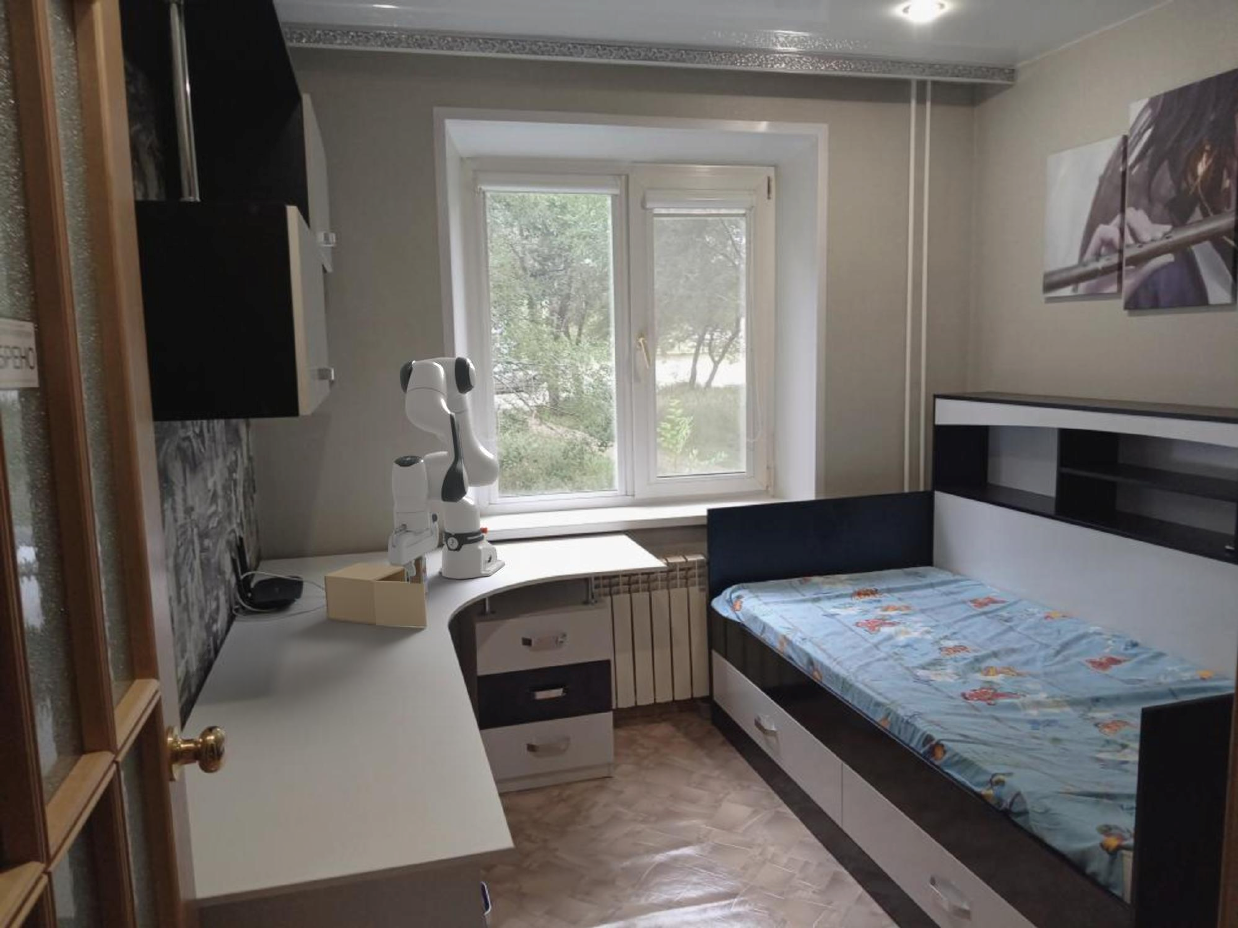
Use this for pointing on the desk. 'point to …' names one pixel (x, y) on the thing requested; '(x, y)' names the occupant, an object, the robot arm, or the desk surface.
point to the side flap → (401, 601)
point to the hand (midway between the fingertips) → (415, 573)
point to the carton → (357, 591)
